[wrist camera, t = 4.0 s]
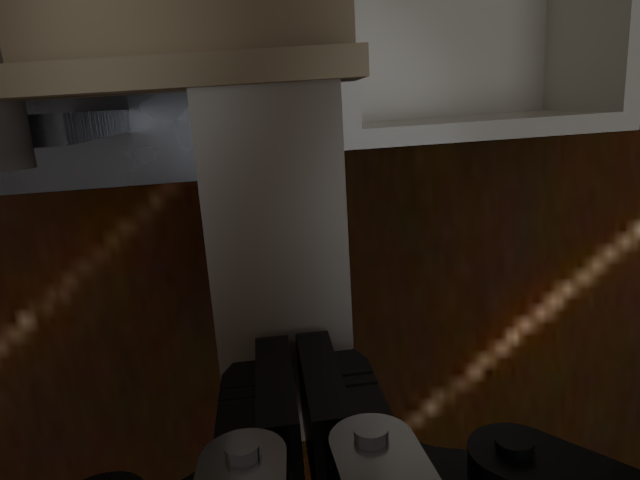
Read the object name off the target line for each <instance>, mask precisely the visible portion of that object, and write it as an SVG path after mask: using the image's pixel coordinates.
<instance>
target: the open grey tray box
mask: <svg viewBox="0 0 640 480" xmlns="http://www.w3.org/2000/svg"><path fill="white" fill-rule="evenodd" d="M354 10H355V35H356V43H360V42H368V44H369V73H370V76H368V77H365V78H362V79H359V80H357V81H350V82H341V96H342V117H343V138H344V150H358V149H372V148H387V147H401V146H415V145H429V144H443V143H458V142H472V141H486V140H500V139H514V138H529V137H543V136H557V135H571V134H585V133H600V132H614V131H628V130H639V127H640V0H354Z"/></svg>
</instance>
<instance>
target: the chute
mask: <svg viewBox="0 0 640 480" xmlns="http://www.w3.org/2000/svg"><path fill="white" fill-rule="evenodd" d="M368 76H370V73H369V44H368V42H360V43H356V35H355V10H354V0H0V172H9V171H18V170H26V169H32V168H36V167H37V162H36V157H35V152H34V147H33V142H32V136H31V131H30V126H29V121H28V115H27V110H26V105H25V101H35V100H52V99H68V98H85V97H101V96H118V95H134V94H151V93H167V92H184V91H187V97H188V105H189V114H190V122H191V131H192V140H193V148H194V157H195V165H196V174H197V182H198V191H199V199H200V208H201V216H202V225H203V233H204V242H205V250H206V259H207V268H208V276H209V285H210V293H211V302H212V310H213V319H214V327H215V336H216V344H217V353H218V361H219V370H220V379H221V376H222V374H223V373H224V372H225V371H226V370H227V369H228V367H229V366H230V365H231V364H232V363H234V362H243V361H252V360H255V338H261V337H270V336H279V335H288V342H289V349H290V356H291V363H292V370H293V377H294V384H295V391H296V398H297V405H298V412H299V419H300V428H301V440H302V441H306V440H305V434H304V427H303V419H302V410H301V400H300V388H299V376H298V364H297V351H296V338H295V334H297V333H306V332H315V331H324V330H327V331H328V333H329V336H330V339H331V342H332V345H333V348H334V351H340V350H349V349H354V348H353V327H352V306H351V285H350V264H349V243H348V222H347V201H346V180H345V159H344V138H343V117H342V96H341V82H350V81H357V80H359V79H362V78H365V77H368Z"/></svg>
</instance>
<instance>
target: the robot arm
mask: <svg viewBox="0 0 640 480" xmlns="http://www.w3.org/2000/svg"><path fill="white" fill-rule="evenodd" d="M295 338H296V351H297V364H298V376H299V388H300V400H301V410H302V419H303V427H304V434H305V440H306V447H307V454H308V460H309V467H310V473H311V480H640V470H639V469H637V468H634V467H632V466H629V465H626V464H624V463H621V462H619V461H616V460H614V459H611V458H609V457H606V456H603V455H601V454H598V453H596V452H593V451H591V450H588V449H585V448H583V447H580V446H578V445H575V444H573V443H570V442H568V441H565V440H562V439H560V438H557V437H555V436H552V435H550V434H547V433H545V432H542V431H539V430H537V429H534V428H531V427H528V426H525V425H520V424H514V423H494V424H489V425H485V426H482V427H480V428H478V429H477V430H475V431H474V432H473V433H472V434H471V435H470V436H469V438H468V442H467V450H463V449H452V448H441V447H434V446H430V445H426V444H423V443H420V442H419V441H418V439H417V438H416V436H415V434H414V433H413V431H412V430H411V428H410V427H409V426H408V425H407V424H406V423H405V422H403V421H401V420H400V419H398V418H395V417H393V415H392V413H391V411H390V408H389V406H388V404H387V402H386V399H385V397H384V395H383V393H382V390H381V388H380V386H379V384H378V381H377V379H376V377H375V375H374V374H373V370H372V368H371V366H370V363H369V361H368V359H367V358H366V357H364V356H363V355H361V354H360V353H359V352H357V351H356V350H354V349H349V350H340V351H334V348H333V345H332V342H331V339H330V336H329V333H328V331H327V330H324V331H315V332H306V333H297V334H295ZM218 401H219V403H218V408H217V416H216V424H215V432H214V439H213V440H212V441H211V442H210V443H208V444H207V445H206V446H205V448H204V449H203V450H202V452H201V454H200V456H199V460H198V463H197V467H196V471H195V472H194V473H192V474H191V475H189V476H188V477H186V478H184V479H182V480H305V476H304V464H303V452H302V440H301V428H300V419H299V412H298V405H297V398H296V391H295V384H294V377H293V370H292V363H291V356H290V349H289V342H288V335H279V336H270V337H261V338H255V360H252V361H243V362H234V363H232V364H231V365H230V366H229V367H228V369H227V370H226V371H225V372H224V373H223V374H222V376H221V384H220V392H219V400H218ZM84 480H143V479H142V478H141V477H140V476H138V475H136V474H133V473H130V472H123V471H115V472H106V473H102V474H98V475H94V476H91V477H89V478H86V479H84Z"/></svg>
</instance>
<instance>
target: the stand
mask: <svg viewBox="0 0 640 480" xmlns="http://www.w3.org/2000/svg"><path fill="white" fill-rule="evenodd" d="M25 105H26V110H27V115H28V121H29V126H30V131H31V136H32V142H33V147H34V152H35V157H36V162H37V167H36V168H32V169H26V170H18V171H9V172H0V195H13V194H27V193H40V192H54V191H67V190H81V189H94V188H108V187H121V186H135V185H148V184H162V183H175V182H189V181H197V174H196V165H195V157H194V148H193V140H192V131H191V122H190V114H189V105H188V97H187V91H184V92H167V93H151V94H134V95H118V96H101V97H85V98H68V99H52V100H35V101H25Z"/></svg>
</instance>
